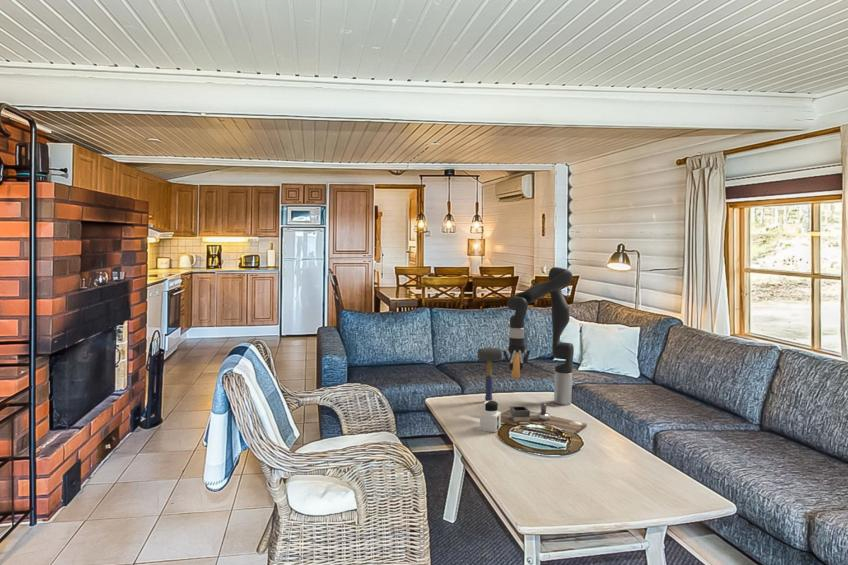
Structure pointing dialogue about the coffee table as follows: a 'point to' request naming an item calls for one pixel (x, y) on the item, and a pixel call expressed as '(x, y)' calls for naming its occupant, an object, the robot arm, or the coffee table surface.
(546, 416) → the lever
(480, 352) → the rubber mallet
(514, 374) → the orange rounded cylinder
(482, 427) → the container
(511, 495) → the coffee table surface
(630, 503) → the coffee table surface
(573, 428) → the base
